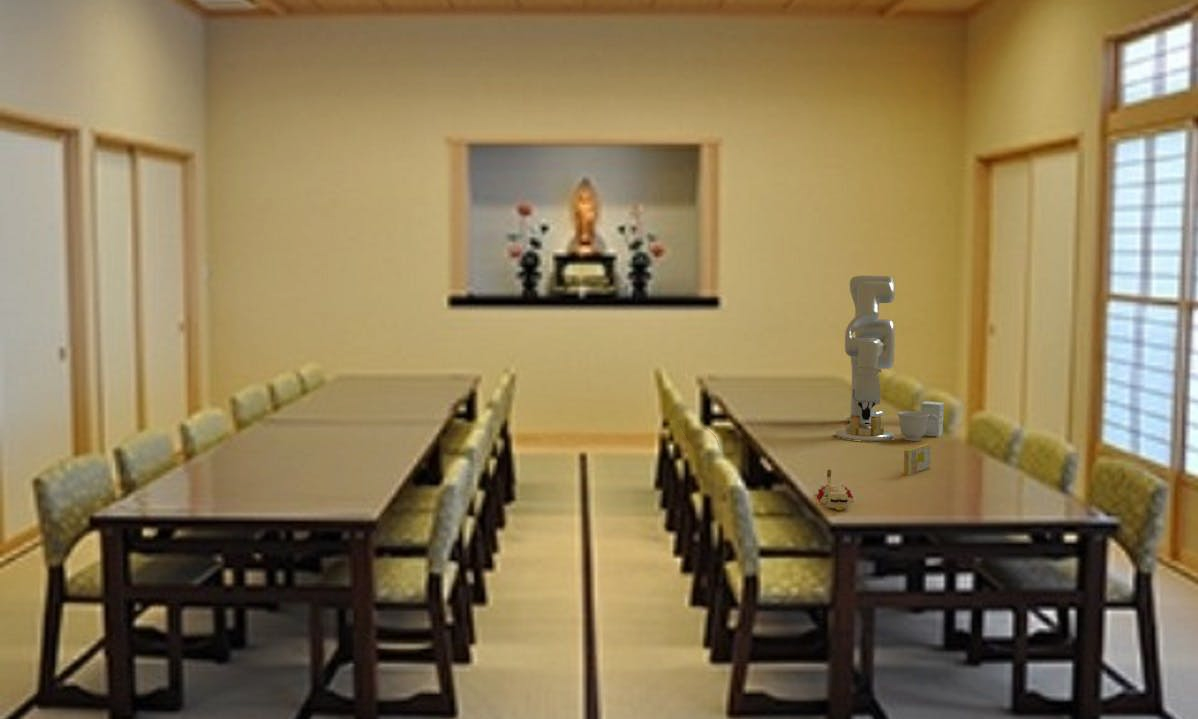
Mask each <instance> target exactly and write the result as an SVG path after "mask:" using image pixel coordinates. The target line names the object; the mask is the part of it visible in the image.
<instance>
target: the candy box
mask: <svg viewBox="0 0 1198 719" xmlns="http://www.w3.org/2000/svg"><path fill="white" fill-rule="evenodd" d="M928 468H930V469H931V443H925V444H924V443H923V444H921V445H918V446H914V447H910V448H907V449H904V450H903V475H904V474H907V475H906V476H911V475H910V474H912V475H914V474H913V473H915V474H917V473H916V472H918V473H920V472H919V471H921V472H923V471H922V470H924V471H926V470H925V469H927V470H929V469H928Z"/></svg>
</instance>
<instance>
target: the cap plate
mask: <svg viewBox="0 0 1198 719" xmlns="http://www.w3.org/2000/svg"><path fill="white" fill-rule="evenodd" d="M859 428H871V426H865V425H861V426H859ZM835 435H836V436H837V437H840V438H845V439H851V440H861V441H860V442H862V441H884V442H887V441H886V440H891V441H893V440H892V439H894V438H895V436H896V434H895V433H893V432H892V431H887V430H884V434H883V435H876V436H872V435H871V436H865V435H854V434H849V433H846V428H842V429H838V430H836V431H835ZM836 436H835V437H836ZM837 437H836V438H837ZM840 438H839V439H840ZM845 439H844V440H845ZM851 440H850V441H851ZM894 440H895V439H894Z"/></svg>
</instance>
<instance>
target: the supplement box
mask: <svg viewBox="0 0 1198 719" xmlns="http://www.w3.org/2000/svg"><path fill="white" fill-rule="evenodd" d="M920 406H921V408H920V412H924V413H929V414H930V416H931V415H936V416H937V418H938V423H937V424H936V425H935V426H933V427H930V428H928V429H927V430H926V432H925V434H924V435H923V436H925V437H926V436H927V437H935V436H936V437H937V438H939V437H941V436H942V435H943V426H944V410H945V409H944V407H945V402H937V401H927V400H926V401H923V402H922V403H921V405H920ZM930 416H929V419H930ZM935 421H936V419H935V418H934V417H932V418H931V420H928V421H927V426H926V428H927V427H928V426H929V425H932V424H934V423H935Z"/></svg>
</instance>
